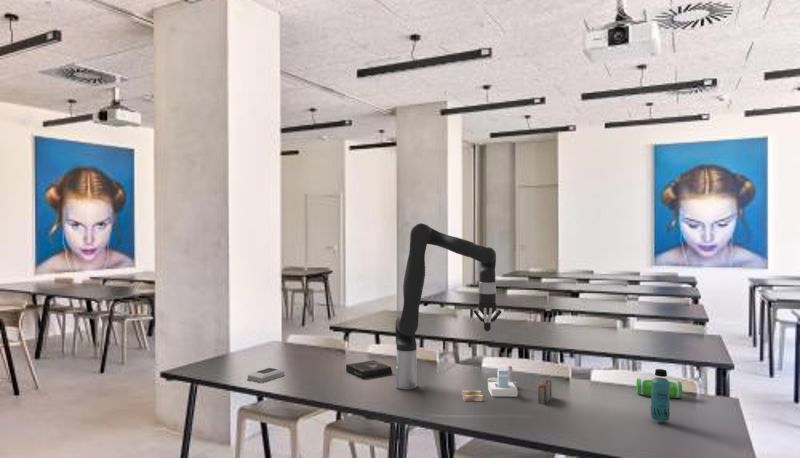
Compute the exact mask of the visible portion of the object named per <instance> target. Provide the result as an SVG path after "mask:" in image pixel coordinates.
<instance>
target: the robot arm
mask: <svg viewBox="0 0 800 458" xmlns="http://www.w3.org/2000/svg"><path fill="white" fill-rule="evenodd" d="M428 245H431V246H437V247H439V248H443V249H445V250H448V251H450V252H452V253H455V254H458V255H460V256H463V257H466V258H471V259H472V260H475V261H477V262H480V270H479V282H478V283H479V284H478V305H477V307H476V308H475V309H473V310H472V312H473V313H474V315H475V316H476V317H477V318H478V319H479V321H480V322H482V323H483V330H484V331H485V332H490V331H491V328H492V325H491V323H494V322H495V321H496V320H497V319H498V317H499V316H500V315H501V314H502V310H501V309H499V308H498V306H497V286H496V266H497V263H496V262H497V253H496V251H495V249H494V248H492V247H489V246H487V247H486V246H483V245H480V244H476V242H475V243H474V242H473V241H470V240H467V239H463V238H461V237H457V236H452V235H450V234H446V233H442V232H441V231H438V230H436V229H434V228H432V227H431V226H429V225H428V224H425V223H421V222H419V223H416V224H414V225H413V226H412V228H411V229H410V236H409V251H408V253H409V254H408V256H407V257H408V258H407V262H406V265H405V266H406V267H405V273H404V278H403V286H402V288H403V290H402V291H403V304H402V305H403V306H402V311H401V314H399V315H398V317H397V318H396V320H395V326H394V327H395V329H394V330H395V344H396V367H395V369H396V370H395V371H396V375H395V376H396V377H395V378H396V379H395V380H396V381H395V383H396V387H395V388H396V389H400V390H412V389H413V390H414V389H416V388H417V385H418V384H417V382H418V381H417V379H418V378H417V376H418V374H417V372H418V371H417V370H418V369H417V368H418V367H417V366H418V365H417V355H418V354H417V353H418V352H417V347H418V345H417V340H416V332H417V331H418V329H419V328H418V327H419V318H420V316H419V315H420V314H419V313H420V305H421V300H422V297H423V296H422V295H423V289H424V284H425V278H426V259H425V258H426V256H425V255H426V250H427V246H428ZM479 313H480V314H482V315H480V314H479ZM494 313H495V314H494ZM493 314H494V315H493ZM482 316H483V317H482Z"/></svg>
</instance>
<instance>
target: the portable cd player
mask: <svg viewBox="0 0 800 458" xmlns="http://www.w3.org/2000/svg"><path fill="white" fill-rule="evenodd" d="M345 372H346V373H348V374H351V375H353V376H355V377H357V378H359V379H362V380H366V379H370V378H371V377H372V378H377V377H383V376H388V374H389V375H392V374H393V370H392V366H389V365H387V364H384V363H382V362H380V361H377V360H374V359H373V360H367V361H361V362H354V363H349V364H346V365H345ZM382 375H383V376H382Z"/></svg>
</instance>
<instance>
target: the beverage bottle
mask: <svg viewBox="0 0 800 458" xmlns="http://www.w3.org/2000/svg"><path fill="white" fill-rule="evenodd" d="M654 376H657V377H654V378H652V379H653V380H652V397H651V396H650V397H651V400H650V402H651V404H650V417H651V419H652V420H654V421H657V422H658V421H659V422H668V421H669V420H670V417H671V416H670V406H671V405H670V399H671V398H670V382H669V381H668V380H669V379H667V378H666V377H668V371H667V370H666V369H662V368H657V369H655V371H654Z"/></svg>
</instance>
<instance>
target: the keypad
mask: <svg viewBox="0 0 800 458" xmlns="http://www.w3.org/2000/svg"><path fill="white" fill-rule="evenodd" d="M284 376H285V371H284V370H283V369H281V368H275V367H270V366H269V367H267V368H263V369H259V370H257V371H253V372H251V373H249V374H248V375H247V380H248V381H251V382H256V383H262V384H263V383H265V382H270V381H272V380H276V379H279V378H281V377H284Z"/></svg>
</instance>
